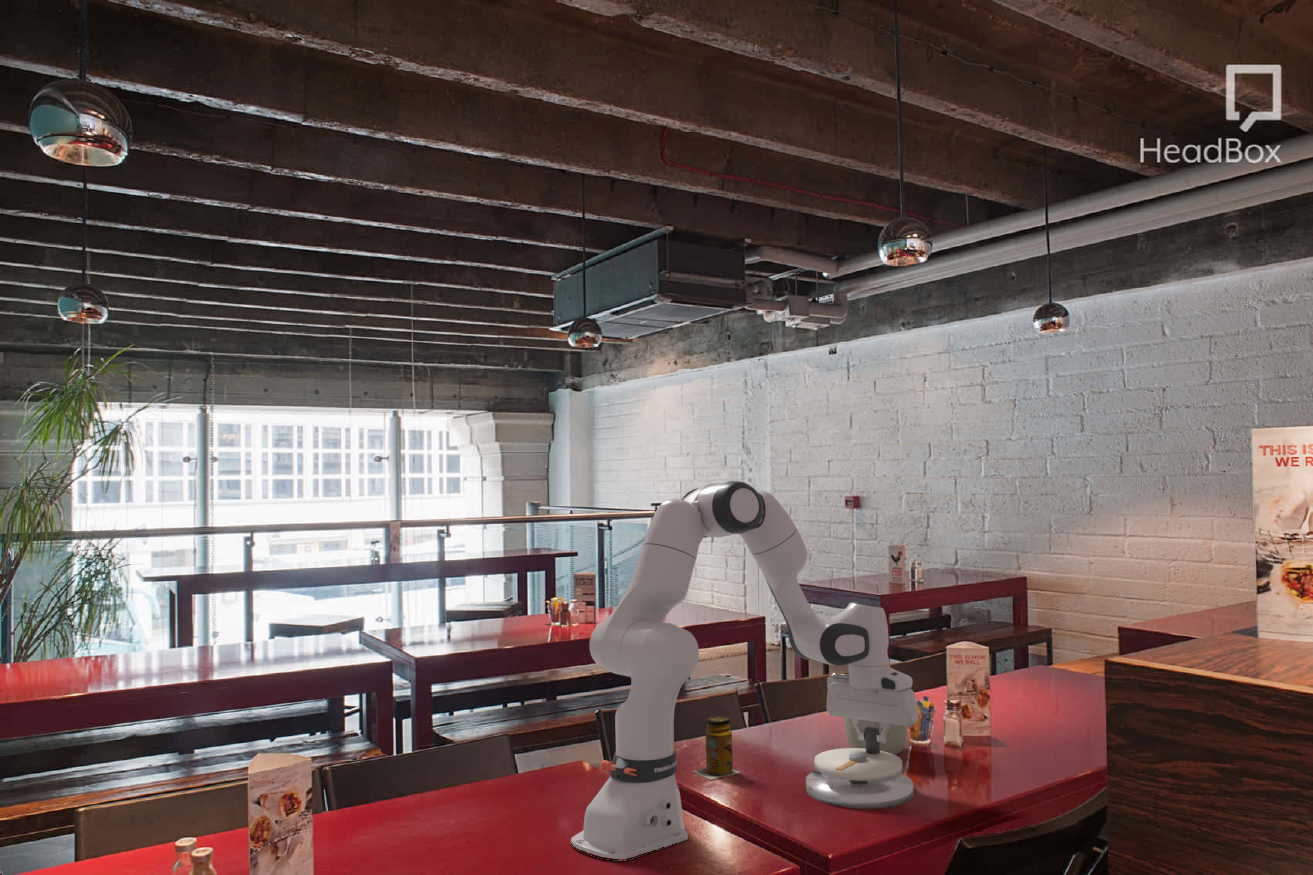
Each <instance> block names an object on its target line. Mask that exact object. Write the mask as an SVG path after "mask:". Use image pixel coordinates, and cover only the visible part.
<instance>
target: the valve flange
mask: <svg viewBox="0 0 1313 875" xmlns="http://www.w3.org/2000/svg"><path fill="white" fill-rule="evenodd" d="M805 789H806V793H807V794H808V796H809V797H811V798H813V799H814V800H816V801H818V802H821V803H824V804H828V805H830V806H836V807H840V808H847V809H848V808H849V809H857V810H858V809H860V810H864V809H865V810H869V809H870V810H871V809H872V810H874V809H885V808H893V807H897V806H900V805H903V804H906V803H907V802H909V801H911V800H912V798H914V795H915V794H914V792H915V791H914V782H913V780H912V779H911V778H910V777H908V776H907V775H905V774H904V773H902V772H901V773H900V774H899V775H897V776H895V777H892V778H888V779H882V780H872V781H858V780H846V779H839V778H835V777H831V776H827V775H825V774H822V773H820V772H819V771H817V770H816V769H814V770H812V772H809V774H807V775H806V777H805Z"/></svg>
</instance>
